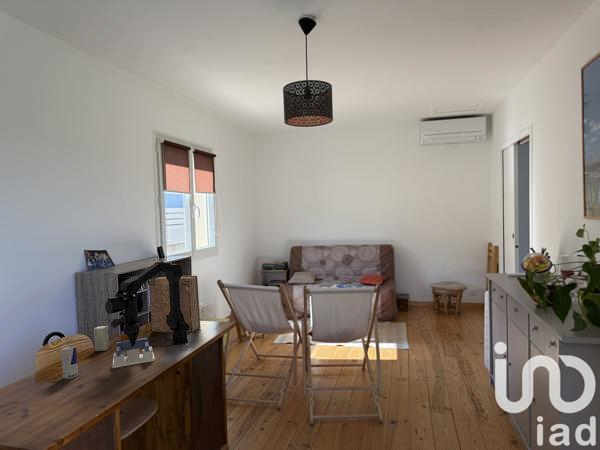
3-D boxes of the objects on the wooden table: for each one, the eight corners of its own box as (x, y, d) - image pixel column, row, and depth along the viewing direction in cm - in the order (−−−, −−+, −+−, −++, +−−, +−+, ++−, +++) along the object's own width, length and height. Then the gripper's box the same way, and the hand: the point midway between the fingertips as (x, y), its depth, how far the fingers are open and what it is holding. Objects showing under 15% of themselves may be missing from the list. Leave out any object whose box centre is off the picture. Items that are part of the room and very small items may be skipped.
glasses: (117, 350, 183) (116, 342, 183) (148, 345, 188) (147, 337, 188) (116, 356, 174) (116, 348, 174) (149, 351, 179) (148, 343, 179)
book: (200, 328, 231) (197, 275, 230) (192, 333, 222) (188, 278, 221) (161, 327, 238) (158, 276, 237) (151, 332, 229) (148, 278, 228)
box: (110, 347, 204) (108, 325, 204) (105, 350, 200) (103, 328, 200) (100, 348, 205) (98, 326, 204) (94, 351, 200) (93, 328, 200)
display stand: (113, 360, 184) (112, 349, 184) (153, 354, 191) (152, 343, 191) (112, 368, 175) (111, 356, 175) (154, 360, 182) (153, 349, 181)
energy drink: (81, 374, 170) (79, 345, 169) (70, 379, 165) (68, 350, 164) (71, 373, 171) (69, 345, 171) (60, 378, 166) (58, 349, 166)
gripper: (111, 307, 190) (113, 341, 190) (109, 315, 173) (112, 352, 173) (137, 304, 194) (139, 337, 195) (138, 312, 177) (140, 348, 177)
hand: (132, 343), depth 185 cm, fingers open, 9 cm apart
